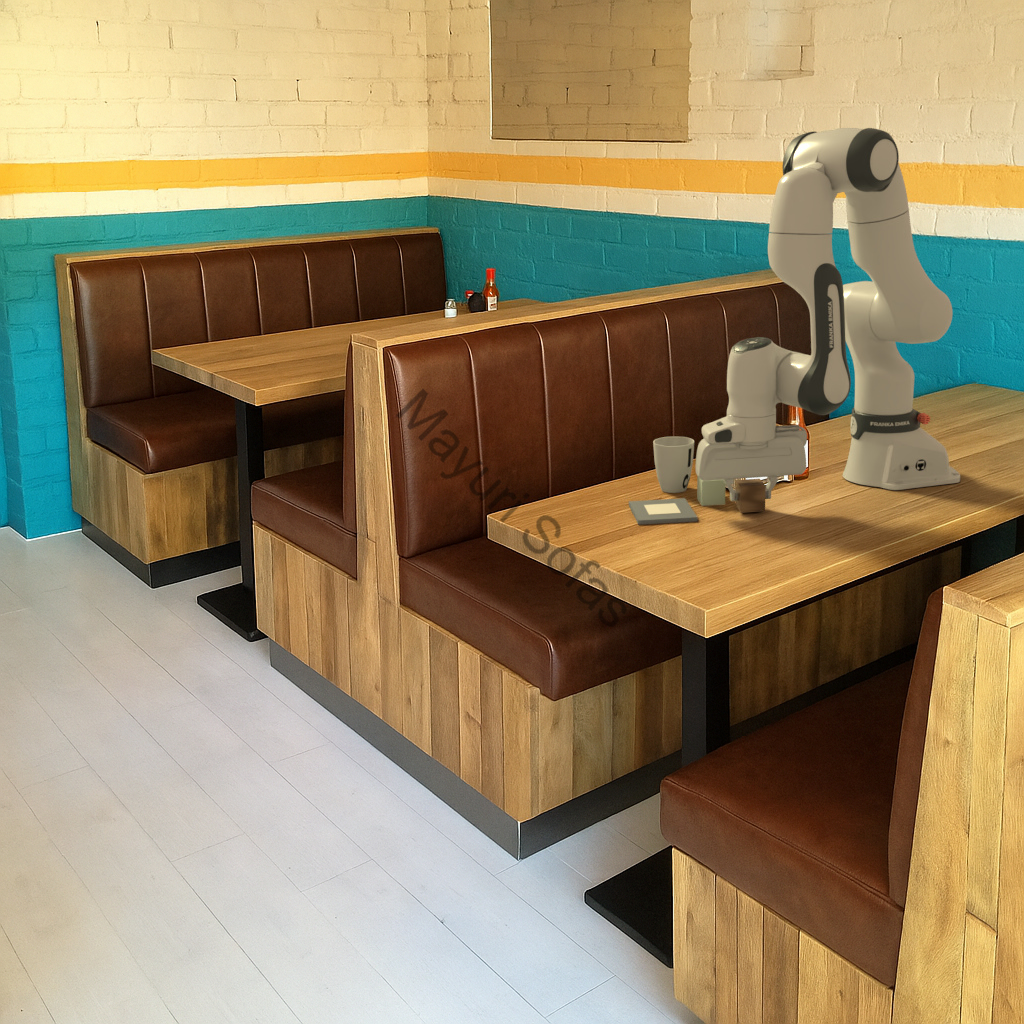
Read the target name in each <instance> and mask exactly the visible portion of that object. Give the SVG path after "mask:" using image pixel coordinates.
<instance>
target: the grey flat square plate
mask: <svg viewBox="0 0 1024 1024" xmlns="http://www.w3.org/2000/svg"><path fill="white" fill-rule="evenodd" d="M628 507H629V509H630V511H631V513H632V515H633V517H634V519H635V521H636V524H637V525H656V524H672V523H674V524H675V523H690V522H698V521H699V520H698V516H697V514H696V512H695V511H694V509H693V508H692V506H691V505H690V503H689V502H688V500H687V499H686V498H685V497H683V498H682V497H681V498H666V499H665V498H664V499H647V500H629V501H628Z"/></svg>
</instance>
